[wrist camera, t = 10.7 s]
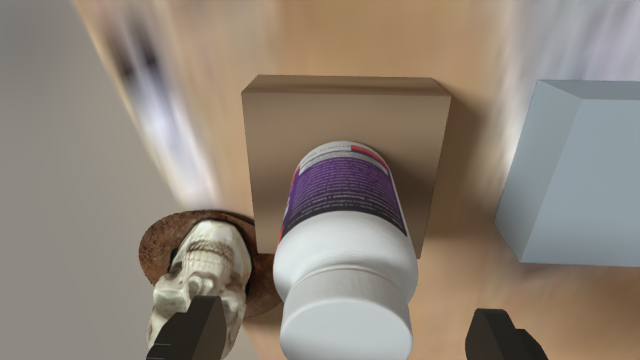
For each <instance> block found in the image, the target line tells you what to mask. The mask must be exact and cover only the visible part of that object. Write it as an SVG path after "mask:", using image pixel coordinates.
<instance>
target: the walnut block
mask: <svg viewBox="0 0 640 360" xmlns="http://www.w3.org/2000/svg"><path fill="white" fill-rule="evenodd" d="M241 95H242V105H243V115H244V124H245V134H246V144H247V153H248V163H249V173H250V183H251V192H252V202H253V212H254V221H255V231H256V241H257V250H258V253H269V254H275V253H276V249H277V245H278V241H279V236H280V232H281V227H282V223H283V218H284V214H285V210H286V206H287V201H288V197H289V192H290V187H291V183H292V179H293V176H294V173H295V171H296V169H297V167H298V165H299V163H300V162H301V160H302V159H303V158H304V157H305V156H306V155H307V154H308V153H309V152H311V151H312V150H314V149H315V148H317V147H319V146H321V145H323V144H326V143H330V142H335V141H352V142H356V143H360V144H363V145H365V146H367V147H369V148H371V149H372V150H374V151H375V152H376V153H378V154H379V155H380V156H381V157H382V158H383V160H384V161H385V162H386V164H387V165H388V167H389V169H390V172H391V174H392V177H393V181H394V184H395V188H396V191H397V195H398V198H399V201H400V205H401V208H402V211H403V215H404V218H405V221H406V225H407V228H408V231H409V234H410V238H411V241H412V244H413V248H414V251H415V255H416V259H420V256H421V251H422V246H423V241H424V236H425V231H426V226H427V220H428V215H429V210H430V205H431V200H432V195H433V190H434V185H435V179H436V174H437V169H438V164H439V159H440V154H441V149H442V143H443V138H444V133H445V128H446V123H447V118H448V113H449V108H450V102H451V97H452V96H450V95H449V94H448V93H447V92H446V91H445V90H444V89H443V88H442V87H441V86H440V85H438V84H437V83H436V82H435V81H434V80H433V79H432V78H408V77H352V76H296V75H257V76H256V78H255V79H254V80H253V81H252V82H251V83H250V84H249V85H248V86H247V87H246V88H245V89H244V90H243V91H242V92H241Z"/></svg>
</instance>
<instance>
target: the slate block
mask: <svg viewBox="0 0 640 360" xmlns="http://www.w3.org/2000/svg"><path fill="white" fill-rule="evenodd" d="M494 225H495V226H496V228H497V229H498V231H499V232H500V234H501V235H502V237H503V238H504V240H505V241H506V243H507V244H508V246H509V247H510V249H511V250H512V252H513V253H514V255H515V256H516V258H517V259H518V260H519V262H520V263H544V264H572V265H599V266H627V267H640V82H631V81H575V80H538V82H537V85H536V88H535V91H534V95H533V98H532V101H531V104H530V108H529V111H528V114H527V117H526V120H525V124H524V127H523V130H522V133H521V137H520V140H519V143H518V146H517V149H516V153H515V156H514V159H513V162H512V166H511V169H510V172H509V175H508V178H507V182H506V185H505V188H504V191H503V195H502V198H501V201H500V204H499V207H498V211H497V214H496V217H495V220H494Z"/></svg>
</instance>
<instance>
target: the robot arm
mask: <svg viewBox="0 0 640 360" xmlns="http://www.w3.org/2000/svg"><path fill="white" fill-rule="evenodd" d="M226 336H227V326H226V320H225V315H224V310H223V305H222V300H221V297H220V296H210V295H196V296H194V298H193V299H192V301H191V303H190V305H189V308H188V310H187V312H176V313H175V314H174V315H173V316H172V317H171V318H170V319H169V320H168V321H167V322H166V323H165V324H164V325H163V326H162V328H161V330H160V331H159V333H158V335H157V337H156V339H155V341H154V345H153V346H152V347H151V349H150V351H149V353H148V354H147V357H146V360H221V356H222V353H223V350H224V347H225V343H226ZM465 351H466V357H467V360H548V358H547V356H546V354H545V353H544V351H543V349H542V347H541V345H540V344H539V343H538V342H537V341H536V340H535V339H534V338H533V337H532V336H531V335H530V334H529V333H528V332H527V331H526V330H525V329H516V328H515V327H514V325H513V323H512V321H511V319H510V317H509V315H508V313H507V312H506V311H505V310H503V309H482V308H478V309H476V311H475V313H474V316H473V319H472V322H471V325H470V328H469V331H468V334H467V337H466V341H465Z"/></svg>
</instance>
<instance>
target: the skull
mask: <svg viewBox="0 0 640 360" xmlns="http://www.w3.org/2000/svg"><path fill="white" fill-rule="evenodd" d="M139 256H140V257H139V260H140V264H141V266H142V269H143V271H144V273H145V275H146V277H147V278H148V280H150V282H151V284H153V285H154V292H153V298H154V307H153V310H152V314H151V318H150V321H149V324H148V329H147V341H148V346H149V349H151V347H152V346H153V345H154V341H155V339H156V337H157V335H158V333H159V331H160V330H161V328H162V326H163V325H164V324H165V323H166V322H167V321H168V320H169V319H170V318H171V317H172V316H173V315H174V314H175V313H176V312H187V310H188V308H189V305H190V303H191V301H192V299H193V298H194V296H196V295H210V296H220V297H221V300H222V305H223V310H224V315H225V320H226V326H227V336H226V343H225V347H224V350H223V353H222V356H221V360H223V359H224V358H225V357H226V356H227V355H228V354H229V352H230V351H231V349H232V347H233V346H234V343H235V340H236V337H237V334H238V331H239V329H240V326H241V323H242V320H243V317H244V316H245V317H246V316H248V317H249V316H250V317H252V316H257V315H259V314H263V313H265V312H267V311H269V310H271V309H272V308H274V307H275V306H277V305H278V304H279V303H280V302H281V301H282V299H281V298H280V296H279V294H278V292H277V290H276V287H275V284H274V278H273V265H274V258H275V254H269V253H258V250H257V241H256V231H255V227H254V226H252V225H251V224H249V223H247V222H245V221H242V220H240V219H238V218H235V217H233V216H230V215H227V214H224V213H221V212H220V213H217V212H215V211H204V210H203V211H187V212H186V211H185V212H182V213H175V214H173V215H170V216H167V217H164V218H162V219H161V220H159V221H157V222H156V223H154V224H153V225H152V226H151V227H150V228H149V229H148V230H147V231H146V233H145V234H144V236H143V237H142V240H141V243H140V247H139Z"/></svg>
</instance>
